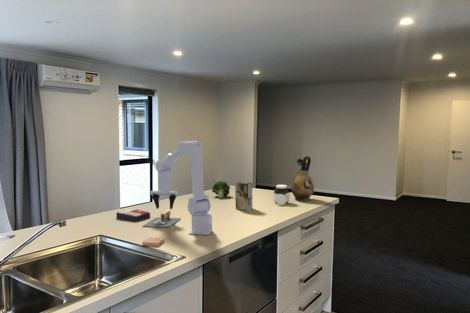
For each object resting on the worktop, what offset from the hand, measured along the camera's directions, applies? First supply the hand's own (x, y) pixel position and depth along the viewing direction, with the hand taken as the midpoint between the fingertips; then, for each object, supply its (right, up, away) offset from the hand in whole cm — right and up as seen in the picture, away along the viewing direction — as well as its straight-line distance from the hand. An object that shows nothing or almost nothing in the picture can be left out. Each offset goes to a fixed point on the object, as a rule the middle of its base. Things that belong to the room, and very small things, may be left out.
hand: (164, 208), depth 194 cm
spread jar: (+68, -3, +45) cm, 82 cm away
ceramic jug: (+85, -2, +58) cm, 103 cm away
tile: (+3, -9, -33) cm, 35 cm away
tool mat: (-1, -7, -2) cm, 8 cm away
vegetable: (+28, -2, +70) cm, 75 cm away
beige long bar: (0, -7, 0) cm, 7 cm away
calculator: (-19, -7, +9) cm, 22 cm away
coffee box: (+43, -5, +30) cm, 53 cm away
